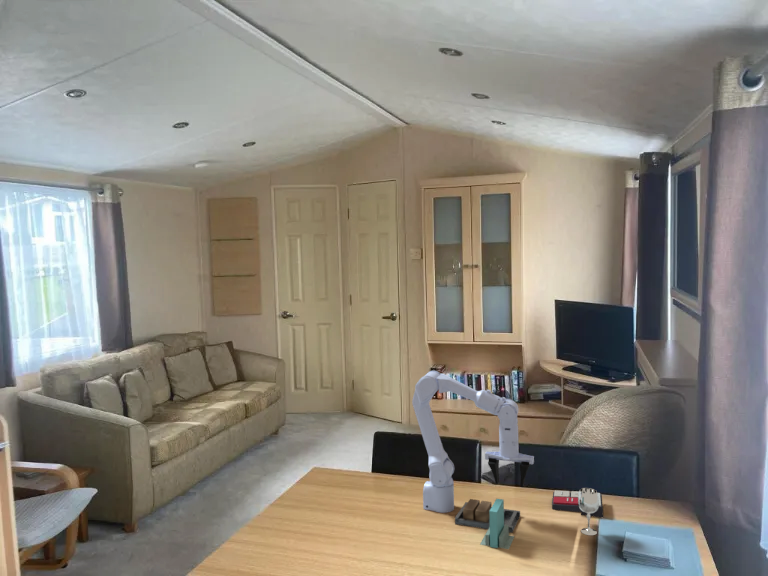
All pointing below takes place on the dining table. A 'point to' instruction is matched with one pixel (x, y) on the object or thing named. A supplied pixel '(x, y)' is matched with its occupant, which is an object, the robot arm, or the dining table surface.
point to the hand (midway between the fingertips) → (509, 484)
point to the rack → (509, 519)
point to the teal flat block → (496, 522)
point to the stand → (503, 538)
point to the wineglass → (588, 506)
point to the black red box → (573, 502)
